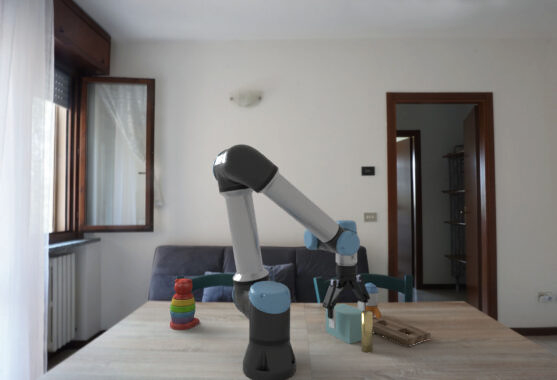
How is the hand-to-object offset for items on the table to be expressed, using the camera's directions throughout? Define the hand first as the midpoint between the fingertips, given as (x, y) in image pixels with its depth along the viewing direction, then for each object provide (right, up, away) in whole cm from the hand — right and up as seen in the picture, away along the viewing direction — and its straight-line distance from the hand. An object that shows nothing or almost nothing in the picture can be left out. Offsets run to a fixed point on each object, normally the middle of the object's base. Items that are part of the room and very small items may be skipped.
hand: (347, 323), depth 127 cm
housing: (0, -4, 0) cm, 4 cm away
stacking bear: (-61, -4, +9) cm, 62 cm away
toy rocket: (+12, -5, +19) cm, 22 cm away
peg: (+4, -4, -13) cm, 14 cm away
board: (+17, -4, +1) cm, 18 cm away
